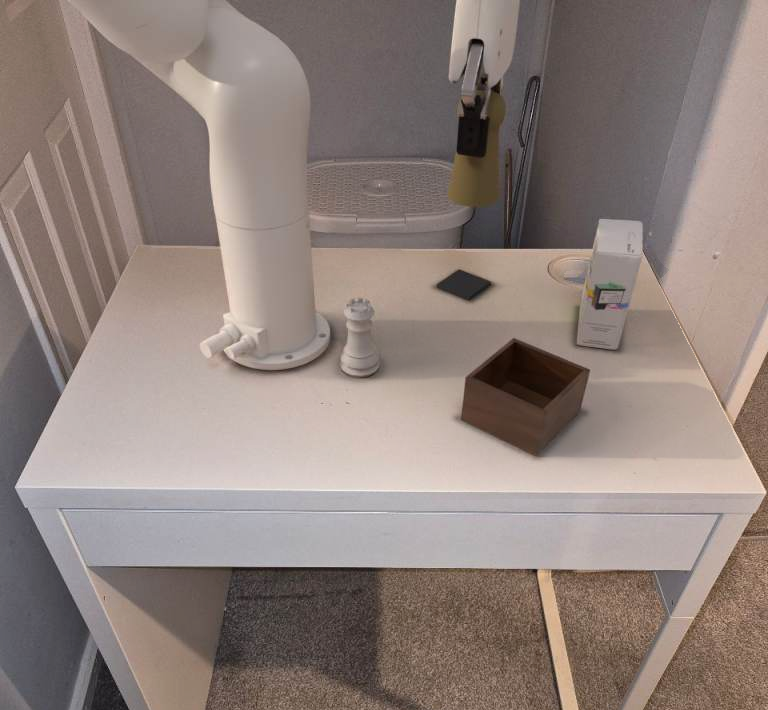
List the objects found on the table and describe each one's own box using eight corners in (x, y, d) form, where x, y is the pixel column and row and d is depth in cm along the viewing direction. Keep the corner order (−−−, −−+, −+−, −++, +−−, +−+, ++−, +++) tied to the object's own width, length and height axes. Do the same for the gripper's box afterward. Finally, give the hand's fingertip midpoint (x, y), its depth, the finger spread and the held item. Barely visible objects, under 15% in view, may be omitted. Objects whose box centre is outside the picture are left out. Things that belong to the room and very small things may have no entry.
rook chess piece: (385, 360, 86) (385, 296, 80) (372, 382, 83) (372, 318, 77) (347, 352, 87) (345, 289, 81) (334, 374, 84) (331, 310, 78)
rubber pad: (468, 300, 95) (469, 297, 95) (436, 287, 97) (436, 284, 97) (490, 284, 98) (491, 281, 97) (458, 272, 100) (459, 269, 99)
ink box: (578, 307, 94) (598, 214, 86) (619, 312, 93) (643, 219, 85) (574, 345, 88) (596, 250, 80) (618, 351, 88) (644, 255, 79)
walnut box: (536, 456, 75) (544, 413, 71) (460, 419, 79) (465, 377, 75) (580, 412, 80) (590, 369, 76) (507, 379, 84) (513, 337, 80)
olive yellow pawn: (501, 207, 87) (514, 103, 79) (448, 206, 87) (455, 102, 79) (497, 185, 91) (509, 83, 83) (446, 184, 91) (453, 82, 83)
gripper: (479, -75, 78) (464, 115, 91) (432, -41, 67) (423, 170, 80) (551, -69, 76) (525, 122, 89) (517, -34, 65) (493, 180, 78)
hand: (477, 143), depth 84 cm, fingers closed on olive yellow pawn, 5 cm apart
